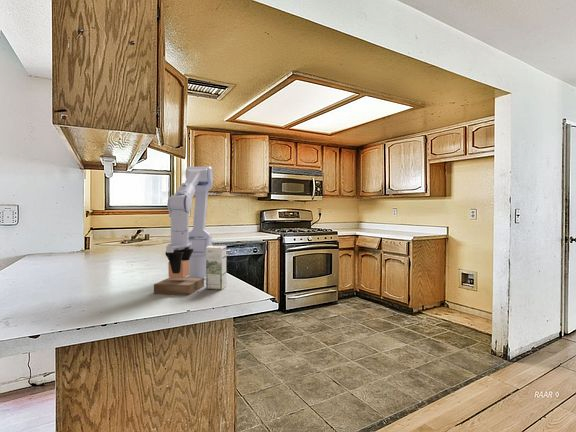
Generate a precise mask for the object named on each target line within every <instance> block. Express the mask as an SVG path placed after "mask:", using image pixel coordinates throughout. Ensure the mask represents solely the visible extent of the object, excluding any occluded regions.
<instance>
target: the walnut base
mask: <svg viewBox="0 0 576 432" xmlns="http://www.w3.org/2000/svg"><path fill="white" fill-rule="evenodd" d="M203 287H205V279H204V278H197V277H187V276H186V277H184V278H173V277H168V278H166V279H163V280H160V281H158V282H155V283H154V284H153V294H155V295H157V294H158V295H178V296H179V295H180V296H181V295H182V296H186V295H187V296H190V295H192V294H194V293H195V292H197V291H199V290H200V289H202V288H203Z"/></svg>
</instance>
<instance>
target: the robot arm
mask: <svg viewBox="0 0 576 432" xmlns="http://www.w3.org/2000/svg"><path fill="white" fill-rule="evenodd" d="M184 177H185V182H182V183H181V184H180V185H179V186H178V188H177V190H176V192H175V193H174V194H173V195H171V196H169V197H168V199H167V205H166V206H167V210H168V216H169V218H170V243H168V244H167V246H166V248H165V249H166V250H165V257H166V258H167V259H168V262H170V265H171V269H172V272H173V273H179V272H180V267H181V260H189V269H190V275H188V276H186V277H197V278H204V280H206V247H207V246H210V245H213V239H212V235H211V233H209V232H208V231H206V224H207V223H206V222H207V210H208V209H207V208H208V199H209V197H208V196H209V191H210V190H211V189H213V185H214V171H213V168H212V167H211V166H191V165H190V166H187V167H186V168H185V176H184ZM194 196H195V197H194ZM194 198H195V200H194V212H193V222H192V229H191V230H190V231H189V227H190V226H189V219H190V217H189V212H190V211H191V210H192V205H193V201H192V200H193V199H194Z"/></svg>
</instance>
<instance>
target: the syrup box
mask: <svg viewBox="0 0 576 432" xmlns="http://www.w3.org/2000/svg"><path fill="white" fill-rule="evenodd" d="M205 284H206V285H205V290H223V288H224V289H225V288H226V287H227V245H220V244H219V245H216V244H215V245H213V244H212V245H210V246H207V247H206V279H205Z"/></svg>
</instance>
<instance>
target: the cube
mask: <svg viewBox="0 0 576 432" xmlns="http://www.w3.org/2000/svg"><path fill="white" fill-rule="evenodd" d="M167 264H168V265H167V267H168V269H167V270H168V278H170V277H173V278H184V277H187V276H189V275H190V269H189V260H181V267H180V272H179V273H173V272H172V269H171V265H170V262H169V261H168V263H167Z"/></svg>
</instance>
